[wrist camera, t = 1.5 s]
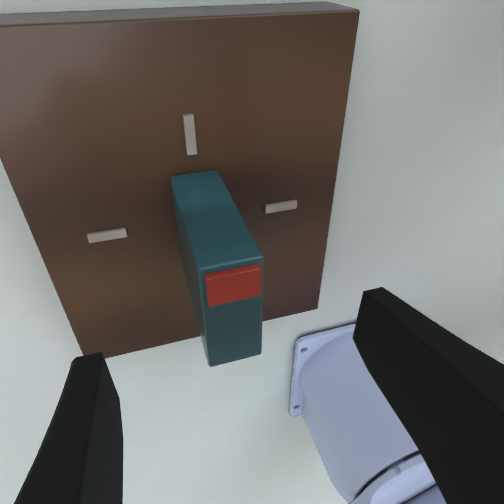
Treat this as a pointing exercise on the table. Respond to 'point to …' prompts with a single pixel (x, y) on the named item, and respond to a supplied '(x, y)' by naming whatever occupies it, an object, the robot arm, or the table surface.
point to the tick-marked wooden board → (172, 150)
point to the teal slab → (219, 267)
